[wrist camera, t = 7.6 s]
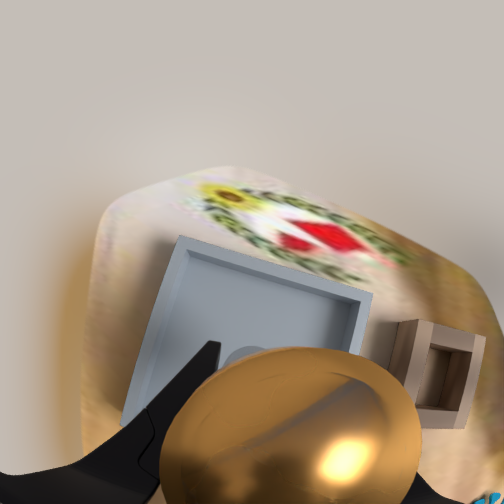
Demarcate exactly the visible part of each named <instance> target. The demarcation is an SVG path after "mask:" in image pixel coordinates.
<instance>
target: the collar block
mask: <svg viewBox="0 0 504 504" xmlns="http://www.w3.org/2000/svg"><path fill="white" fill-rule="evenodd" d="M485 340H486V337H484V336H481V335H477V334H473V333H469V332H465V331H462V330H458V329H454V328H450V327H447V326H443V325H439V324H436V323H432V322H428V321H424V320H421V319H416V320H409V321H402V322H399V326H398V330H397V335H396V340H395V344H394V348H393V353H392V357H391V361H390V365H389V368H388V372H389V373H390V374H391V375H393V376H394V377H395V378H396V379H397V380H398V381H399V382H400V383H401V385H402V386H403V387H404V388H405V389H406V391H407V392H408V394H409V396H410V397H411V399H412V401H413V403H414V405H415V408H416V410H417V413H418V416H419V420H420V425H421V428H431V429H464V428H465V425H466V422H467V418H468V415H469V412H470V408H471V405H472V401H473V398H474V394H475V390H476V386H477V382H478V377H479V373H480V368H481V363H482V358H483V352H484V347H485ZM429 348H433V349H438V350H442V351H447V352H451V357H450V361H449V366H448V370H447V375H446V379H445V383H444V387H443V390H442V394H441V398H440V401H439V405H438V407H437V406H426V405H416V404H415V402H416V399H417V395H418V392H419V388H420V384H421V381H422V377H423V373H424V369H425V364H426V360H427V356H428V351H429Z"/></svg>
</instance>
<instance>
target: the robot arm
mask: <svg viewBox="0 0 504 504" xmlns="http://www.w3.org/2000/svg"><path fill="white" fill-rule="evenodd" d="M221 346H222V344H221V342H218V341H213V340H209V341H207V342H206V343H205V345H204V346H203V347H202V348H201V349H200V350H199V351H198V352H197V353H196V354H195V355H194V356H193V357H192V358H191V360H190V361H189V362H188V363H187V364H186V365H185V366H184V367H183V368H182V369H181V370H180V371H179V372H178V373H177V374H176V375H175V376H174V378H173V379H172V380H171V381H170V382H169V383H168V384H167V385H166V386H165V387H164V388H163V389H162V390H161V391H160V392H159V393H158V394H157V395H156V396H155V397H154V398H153V399H152V400H151V401H150V403H149V404H148V405H147V406H146V408H144V409H143V410H142V411H141V412H140V413H139V414H138V415H137V416H136V417H135V418H134V419H133V420H131V421H130V422H129V423H128V424H127V425H126V426H125V427H124V428H122V429H121V430H120V431H119V432H118V433H116V434H115V435H114V436H113V437H111V438H110V439H108V440H107V441H106V442H104V443H103V444H102V445H100V446H99V447H98V448H96V449H95V450H94V451H92V452H91V453H89V454H88V455H87V456H85V457H84V458H82V459H81V460H79V461H77V462H75V463H72V464H70V465H67V466H63V467H58V468H54V469H50V470H45V471H40V472H35V473H30V474H24V475H7V474H4V473H2V472H0V504H167V503H166V500H165V498H164V495H163V492H162V488H161V483H160V477H159V460H160V455H161V449H162V445H163V442H164V439H165V436H166V433H167V431H168V429H169V427H170V425H171V424H172V422H173V420H174V418H175V416H176V415H177V414H178V412H179V411H180V410H181V408H182V407H183V406H184V404H185V403H186V402H187V400H188V399H189V398H190V397H191V395H192V394H193V393H194V391H195V390H196V389H197V388H198V387H199V386H200V385H201V384H202V383H203V382H204V381H205V380H206V379H207V378H208V377H210V376H211V375H212V374H213V373H215V372H216V371H217V370H218V366H219V360H220V353H221ZM400 504H464V503H461V502H458V501H454V500H451V499H448V498H445V497H443V496H441V495H440V494H438V493H437V492H435V491H434V490H433V489H432V488H431V487H430V486H429V485H428V484H427V483H426V481H425V480H424V479H423V478H422V477H421V476H420V475H419V474H418V472H416V475H415V477H414V480H413V482H412V484H411V486H410V488H409V490H408V492H407V494H406V496H405V497H404V499H403V500H402V502H401V503H400Z"/></svg>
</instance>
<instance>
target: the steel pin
mask: <svg viewBox="0 0 504 504" xmlns="http://www.w3.org/2000/svg"><path fill="white" fill-rule="evenodd" d="M421 447H422V434H421V425H420V420H419V416H418V413H417V410H416V408H415V405H414V403H413V401H412V399H411V397H410V396H409V394H408V392H407V391H406V389H405V388H404V387H403V386H402V385H401V383H400V382H399V381H398V380H397V379H396V378H395V377H394V376H393V375H391V374H390V373H389V372H388V371H387V370H385V369H384V368H382V367H381V366H379V365H377V364H376V363H374V362H372V361H370V360H368V359H366V358H363V357H361V356H359V355H355V354H352V353H348V352H345V351H340V350H333V349H327V348H317V347H305V346H286V347H275V348H270V349H265V348H262V347H258V346H245V347H242V348H239V349H237V350H235V351H234V352H233V353H231V354H230V355H229V356H228V358H227V359H226V361H225V362H224V364H223V367H222V368H220V369H219V370H217V371H216V372H215V373H213V374H212V375H211V376H210V377H208V378H207V379H206V380H205V381H204V382H203V383H202V384H201V385H200V386H199V387H198V388H197V389H196V390H195V391H194V393H193V394H192V395H191V397H190V398H189V399H188V400H187V402H186V403H185V404H184V406H183V407H182V408H181V410H180V411H179V412H178V414H177V415H176V416H175V418H174V420H173V422H172V424H171V425H170V427H169V429H168V431H167V433H166V436H165V439H164V442H163V445H162V449H161V455H160V460H159V477H160V483H161V488H162V492H163V495H164V498H165V500H166V503H167V504H400V503H401V502H402V500H403V499H404V497H405V496H406V494H407V492H408V490H409V488H410V486H411V484H412V482H413V480H414V477H415V475H416V472H417V469H418V465H419V461H420V456H421Z"/></svg>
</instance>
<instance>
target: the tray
mask: <svg viewBox="0 0 504 504" xmlns="http://www.w3.org/2000/svg"><path fill="white" fill-rule="evenodd" d="M372 297H373V293H370V292H367V291H364V290H360V289H357V288H354V287H350V286H347V285H344V284H340V283H337V282H334V281H330V280H327V279H324V278H320V277H317V276H314V275H310V274H307V273H304V272H300V271H297V270H294V269H290V268H287V267H284V266H280V265H277V264H274V263H271V262H267V261H264V260H261V259H257V258H254V257H251V256H247V255H244V254H241V253H238V252H234V251H231V250H228V249H224V248H221V247H218V246H214V245H211V244H208V243H205V242H201V241H198V240H195V239H192V238H188V237H185V236H182V235H179V237H178V240H177V243H176V245H175V248H174V251H173V253H172V256H171V259H170V261H169V264H168V267H167V270H166V272H165V275H164V278H163V281H162V284H161V287H160V290H159V292H158V295H157V298H156V301H155V304H154V307H153V310H152V313H151V316H150V319H149V323H148V326H147V329H146V332H145V335H144V338H143V342H142V345H141V348H140V352H139V355H138V358H137V362H136V365H135V369H134V372H133V376H132V379H131V383H130V386H129V390H128V394H127V398H126V401H125V405H124V409H123V413H122V417H121V421H120V425H121V426H123V427H125V426H126V425H127V424H128V423H129V422H130V421H131V420H133V419H134V418H135V417H136V416H137V415H138V414H139V413H140V412H141V411H142V410H143V409H144V408H146V406H147V405H148V404H149V403H150V401H151V400H152V399H153V398H154V397H155V396H156V395H157V394H158V393H159V392H160V391H161V390H162V389H163V388H164V387H165V386H166V385H167V384H168V383H169V382H170V381H171V380H172V379H173V378H174V376H175V375H176V374H177V373H178V372H179V371H180V370H181V369H182V368H183V367H184V366H185V365H186V364H187V363H188V362H189V361H190V360H191V358H192V357H193V356H194V355H195V354H196V353H197V352H198V351H199V350H200V349H201V348H202V347H203V346H204V345H205V343H206V342H207V341H209V340H213V341H218V342H221V344H222V346H221V353H220V360H219V366H218V370H219V369H220V368H222V367H223V364H224V362H225V361H226V359H227V358H228V356H229V355H230V354H231V353H233V352H234V351H235V350H237V349H239V348H242V347H245V346H258V347H262V348H265V349H270V348H275V347H286V346H305V347H317V348H327V349H333V350H340V351H345V352H348V353H352V354H355V355H359V353H360V349H361V345H362V341H363V337H364V333H365V329H366V324H367V320H368V315H369V311H370V306H371V301H372Z"/></svg>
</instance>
